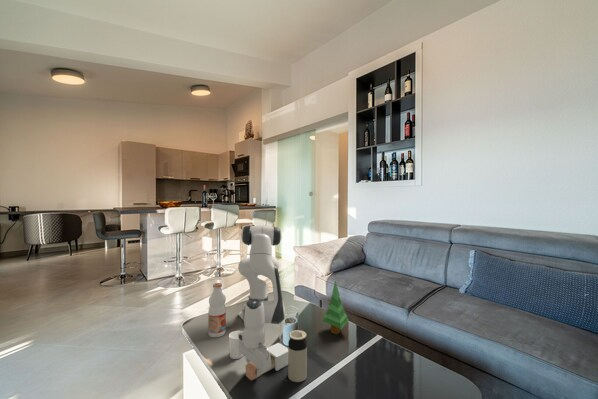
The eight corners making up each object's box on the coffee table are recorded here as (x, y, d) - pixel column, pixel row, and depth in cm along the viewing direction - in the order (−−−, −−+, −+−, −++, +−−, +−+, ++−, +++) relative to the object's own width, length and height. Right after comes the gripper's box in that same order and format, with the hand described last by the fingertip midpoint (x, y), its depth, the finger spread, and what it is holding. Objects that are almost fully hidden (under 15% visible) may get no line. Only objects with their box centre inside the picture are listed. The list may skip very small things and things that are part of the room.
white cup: (239, 348, 132) (239, 328, 132) (248, 355, 126) (248, 334, 126) (225, 355, 126) (225, 334, 126) (234, 362, 121) (234, 340, 121)
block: (245, 375, 111) (245, 365, 111) (254, 370, 114) (254, 360, 114) (251, 380, 108) (251, 370, 108) (260, 376, 111) (260, 365, 111)
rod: (254, 371, 114) (254, 362, 114) (286, 355, 127) (286, 347, 127) (259, 376, 111) (259, 366, 112) (291, 359, 124) (291, 350, 124)
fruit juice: (208, 330, 150) (209, 282, 150) (225, 328, 152) (225, 280, 153) (207, 339, 141) (208, 287, 141) (225, 336, 143) (226, 285, 144)
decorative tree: (339, 324, 159) (339, 275, 159) (352, 337, 144) (352, 282, 144) (319, 327, 154) (319, 277, 155) (330, 341, 139) (330, 285, 140)
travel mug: (292, 385, 106) (292, 340, 106) (285, 373, 113) (285, 331, 113) (309, 379, 109) (310, 336, 109) (302, 368, 116) (302, 328, 116)
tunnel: (265, 361, 121) (265, 348, 121) (278, 354, 126) (278, 342, 126) (276, 370, 114) (276, 357, 114) (290, 363, 120) (290, 350, 120)
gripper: (274, 346, 106) (274, 380, 106) (248, 328, 121) (247, 357, 121) (262, 352, 102) (261, 387, 102) (236, 332, 117) (235, 363, 117)
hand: (254, 371), depth 112 cm, fingers open, 5 cm apart
